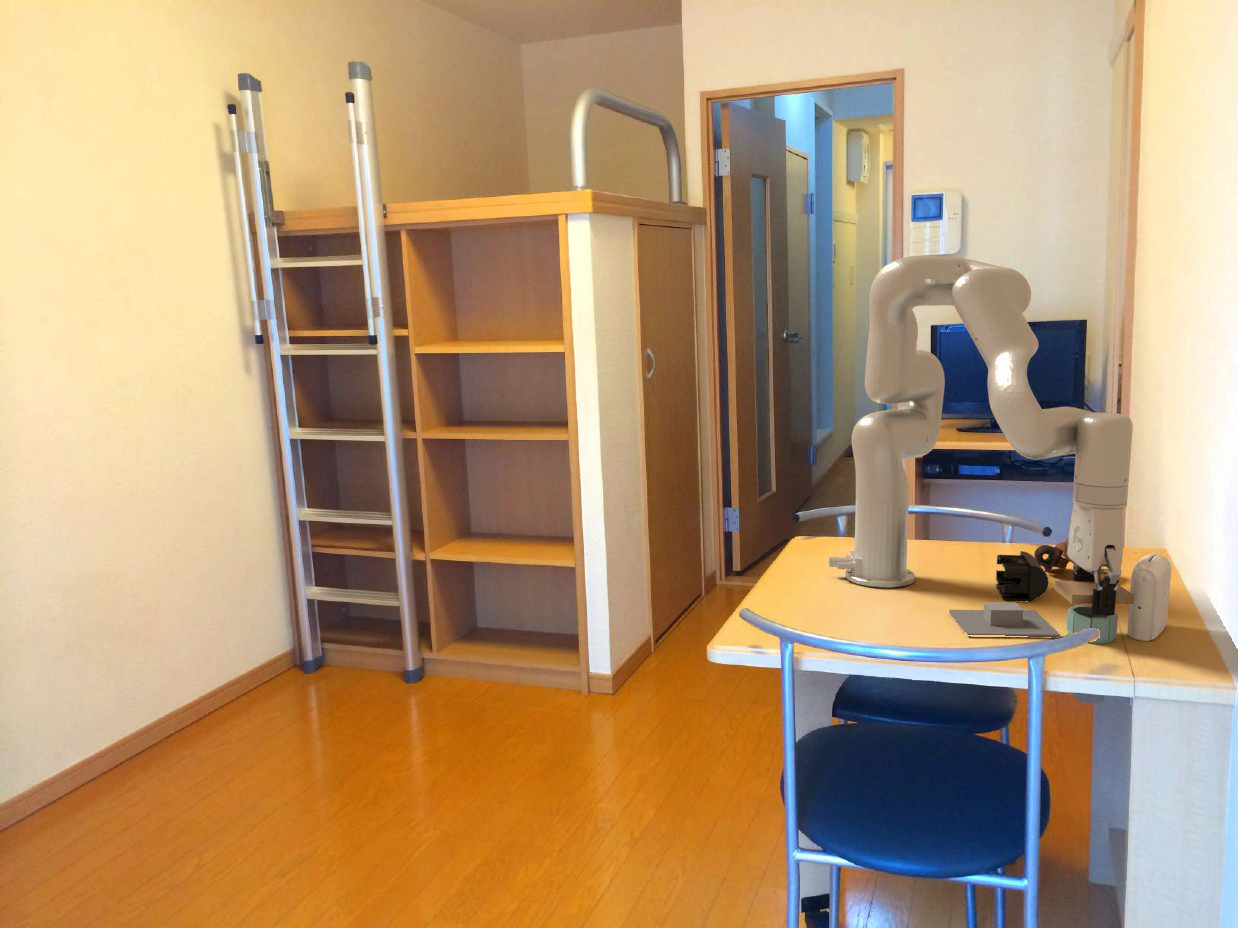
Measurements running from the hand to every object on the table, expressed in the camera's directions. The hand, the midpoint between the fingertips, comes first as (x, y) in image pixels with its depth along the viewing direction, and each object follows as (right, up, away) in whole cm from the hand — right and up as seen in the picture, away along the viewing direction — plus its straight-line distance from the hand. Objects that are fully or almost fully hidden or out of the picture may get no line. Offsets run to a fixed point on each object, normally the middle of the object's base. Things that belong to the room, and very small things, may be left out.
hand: (1092, 605), depth 157 cm
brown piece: (+11, +1, +34) cm, 35 cm away
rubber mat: (-11, -4, +7) cm, 14 cm away
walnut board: (0, +1, 0) cm, 1 cm away
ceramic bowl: (0, -5, +1) cm, 5 cm away
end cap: (-2, -1, +23) cm, 23 cm away
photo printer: (+10, -5, +3) cm, 11 cm away
